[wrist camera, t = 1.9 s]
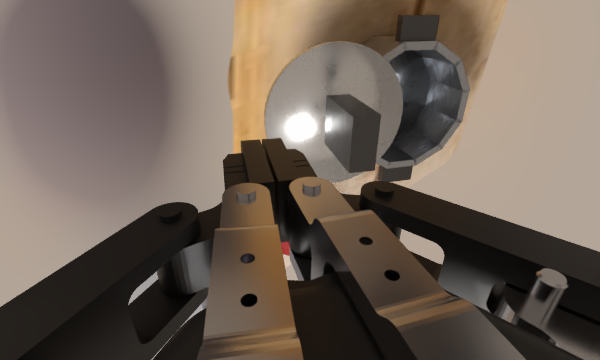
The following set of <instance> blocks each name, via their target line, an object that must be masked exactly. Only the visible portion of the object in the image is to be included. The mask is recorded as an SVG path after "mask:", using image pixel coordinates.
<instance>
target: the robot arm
mask: <svg viewBox="0 0 600 360" xmlns="http://www.w3.org/2000/svg"><path fill="white" fill-rule="evenodd" d="M223 166H224V167H223V168H224V182H225V191H224V193H223V195H222V202H221V203H220V204H219V205H217V206H216V207H214V208H212V209H209V210H206V211H203V212H200V213H198V210H197V208H196V207H195V206H193V205H191V204H189V203H184V202H175V203H167V204H164V205H161V206H158V207H156V208H154V209H152V210H150V211H149V212H147V213H146V214H144V215H143V216H141V217H140V218H138V219H136V220H135V221H133V222H132V223H130V224H129V225H127V226H126V227H124V228H122V229H121V230H119V231H118V232H116V233H115V234H113V235H112V236H110V237H109V238H107V239H105V240H104V241H102V242H101V243H99V244H98V245H96V246H95V247H93V248H92V249H90V250H88V251H87V252H85V253H84V254H82V255H81V256H79V257H77V258H76V259H74V260H73V261H71V262H70V263H68V264H67V265H65V266H63V267H62V268H60V269H59V270H57V271H56V272H54V273H53V274H51V275H50V276H48V277H46V278H45V279H43V280H42V281H40V282H39V283H37V284H36V285H34V286H32V287H31V288H29V289H28V290H26V291H25V292H23V293H22V294H20V295H18V296H17V297H15V298H14V299H12V300H11V301H9V302H8V303H6V304H4V305H3V306H1V307H0V360H151V359H152V358H153V357H154V356H155V355H156V353H157V352H158V351H159V350H160V349H161V348H162V347H163V346H164V345H165V346H164V347H163V348H162V350H161V351H160V352H159V353H158V354H157V355H156V356H155V358H154V359H153V360H600V252H598V251H595V250H592V249H589V248H586V247H583V246H580V245H577V244H574V243H571V242H568V241H565V240H562V239H559V238H556V237H553V236H550V235H547V234H544V233H541V232H538V231H535V230H532V229H529V228H526V227H523V226H520V225H517V224H514V223H511V222H508V221H505V220H502V219H499V218H496V217H493V216H490V215H487V214H484V213H481V212H478V211H475V210H472V209H469V208H466V207H463V206H460V205H457V204H454V203H451V202H448V201H445V200H442V199H439V198H436V197H433V196H430V195H427V194H424V193H421V192H418V191H415V190H412V189H409V188H406V187H403V186H400V185H397V184H394V183H390V182H385V181H373V182H369V183H366V184H364V185H363V186H362V188H361V194H360V195H349V194H341V193H339V191H338V190H337V189H336V188H335V187H334V185H333V184H332V183H331V182H329V181H328V180H326V179H323V178H319V177H317V175H316V173H315V172H314V170H313V168H312V167H311V166H310V163H309V162H308V161H307V158H306V157H305V155H304V154H303V153H302V152H300V151H298V150H296V149H286V147H285V145H284V143H283V141H282V139H281V138H273V139H262V145H261V142H260V140H247V141H241V153H238V154H228V155H227V157H226V158H225V159H224V160H223ZM401 229H404V230H406V231H408V232H411V233H413V234H416V235H418V236H421V237H423V238H426V239H428V240H430V241H433V242H435V243H437V244H438V245H439V246H440V247H441V248H442V249H443V251H444V254H445V257H444V261H443V264H442V265H441V264H438V263H435V262H433V261H431V260H429V259H427V258H424V257H422V256H420V255H417V254H415V253H413V252H410V251H409V250H408V249H407V248H406V247H405V246H404V245H403V244H402V243H401V242H400V241H399V239H400V234H401ZM281 242H289V245H290V261H291V263H292V265H293V268H294V270H295V273H296V275H297V278H298V280H299V281H294V280H292V281H291V280H287V276H286V270H285V265H284V259H283V253H282V247H281ZM156 271H157V275H158V278H159V279H158V280H157V281H155V282H154V283H153V284H152V285H151V286H150V287H149V288H147V289H146V290H145V291H144V292H143V293H142V294H141V295H139V296H138V297H137V298H136V299H135V300H134V301H133V302H132V303H130V304H129V305H128V302H129V299H130V297H131V295H132V293H133V292H134V291H135V290H136V288H137V287H139V286H140V285H141V284H142V283H143V282H144V281H146V280H147V279H148V278H149V277H150V276H151V275H153V274H154V273H155V272H156ZM504 283H505V284H504ZM207 296H208V299H207V308H205V309H204V310H202V311H200V312H199V313H197V314H196V315H195V316H193V317H192V318H191V319H190V320H188V321H187V322H186V323H185V324H184V325H183V326H182V324H183V323H184V322H185V321H186V320H187V319H188V318H189V317H190V316H191V314H192V313H193V312H194V311H195V310H196V309H197V308H198V307H199V305H200V304H201V303H202V302H203V301H204V300H205V299H206V298H207ZM181 326H182V327H181ZM180 327H181V328H180ZM178 329H179V330H178ZM177 330H178V331H177ZM176 331H177V332H176ZM175 332H176V333H175ZM174 333H175V334H174ZM171 337H172V338H171ZM170 338H171V339H170ZM169 339H170V340H169ZM168 340H169V341H168ZM167 341H168V342H167ZM166 342H167V343H166ZM165 343H166V344H165Z"/></svg>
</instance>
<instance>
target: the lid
mask: <svg viewBox="0 0 600 360" xmlns="http://www.w3.org/2000/svg"><path fill="white" fill-rule="evenodd" d="M402 110H403V96H402V90H401V86H400V83H399V79H398V77H397V75H396V73H395V71H394V70H393V68H392V67H391V65H390V64H389V63H388V62H387V60H386V59H385V58H384V57H383V56H381V55H380V54H379V53H378V52H376V51H374V50H373V49H371V48H369V47H366V46H364V45H361V44H358V43H353V42H348V41H332V42H326V43H322V44H318V45H316V46H313V47H311V48H308V49H307V50H305V51H303V52H301V53H300V54H298V55H297V56H296V57H295V58H293V59H292V60H291V61H290V62H289V63H288V64H287V65H286V66H285V67H284V68H283V69H282V71H281V72H280V73H279V74H278V76H277V77H276V79H275V81H274V83H273V84H272V87H271V89H270V91H269V94H268V97H267V100H266V105H265V111H264V125H265V132H266V136H267V139H273V138H281V139H282V141H283V143H284V145H285V147H286V149H296V150H298V151H300V152H302V153H303V154H304V155H305V157H306V158H307V161H308V162H309V163H310V166H311V167H312V168H313V170H314V172H315V173H316V175H317V177H319V178H323V179H326V180H328V181H329V182H331V183H332V182H339V181H343V180H346V179H350V178H352V177H354V176H357V175H359V174H360V173H362V172H364V171H373V170H375V163H376V162H377V161H378V160H379V159H380V158H381V157H382V156H383V155H384V153H385V152H386V151H387V149H388V148H389V147H390V145H391V143H392V142H393V140H394V138H395V136H396V133H397V131H398V128H399V125H400V122H401V117H402Z"/></svg>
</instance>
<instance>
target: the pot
mask: <svg viewBox="0 0 600 360" xmlns="http://www.w3.org/2000/svg"><path fill="white" fill-rule="evenodd" d="M439 17H440V15H398V23H397V31H396V35H387V36H373V37H372V38H370V39H369V40H367V41H366V42H364V43H363V44H361V45H364V46H366V47H369V48H371V49H373V50H374V51H376V52H378V53H379V54H380V55H381V56H383V57H384V58H385V59H386V60H387V62H388V63H389V64H390V65H391V67H392V68H393V70H394V71H395V73H396V75H397V77H398V79H399V83H400V86H401V90H402V96H403V110H402V117H401V122H400V125H399V128H398V131H397V133H396V136H395V138H394V140H393V142H392V143H391V145H390V147H389V148H388V149H387V151H386V152H385V153H384V155H383V156H382V157H381V158H380V159H379V160H378V161H377V162H376V164H379V165H380V166H379V174H378V180H379V181H385V182H393V181H401V180H409V179H410V178H411V173H412V167H413V166H415V165H417V164H418V163H420V162H422V161H423V160H425V159H426V158H428V157H430V156H431V155H433V154H434V153H436V152H438V151H439V150H441V149H442V148H443V147H444V145H445V144H446V143H447V141H448V140H449V139H450V137H451V136H452V134H453V133H454V132H455V130H456V129H457V128H458V126H459V125H460V124H461V122H462V119H463V115H464V111H465V107H466V103H467V98H468V94H469V90H470V88H469V85H468V81H467V77H466V73H465V69H464V65H463V62H462V59H461V58H460V57H458V56H457V55H456V54H454V53H453V52H452V51H451V50H449V49H448V48H447V47H445V46H444V45H443V44H442V43H440V42H439V41H436V40H435V39H436V34H437V28H438V23H439Z"/></svg>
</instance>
